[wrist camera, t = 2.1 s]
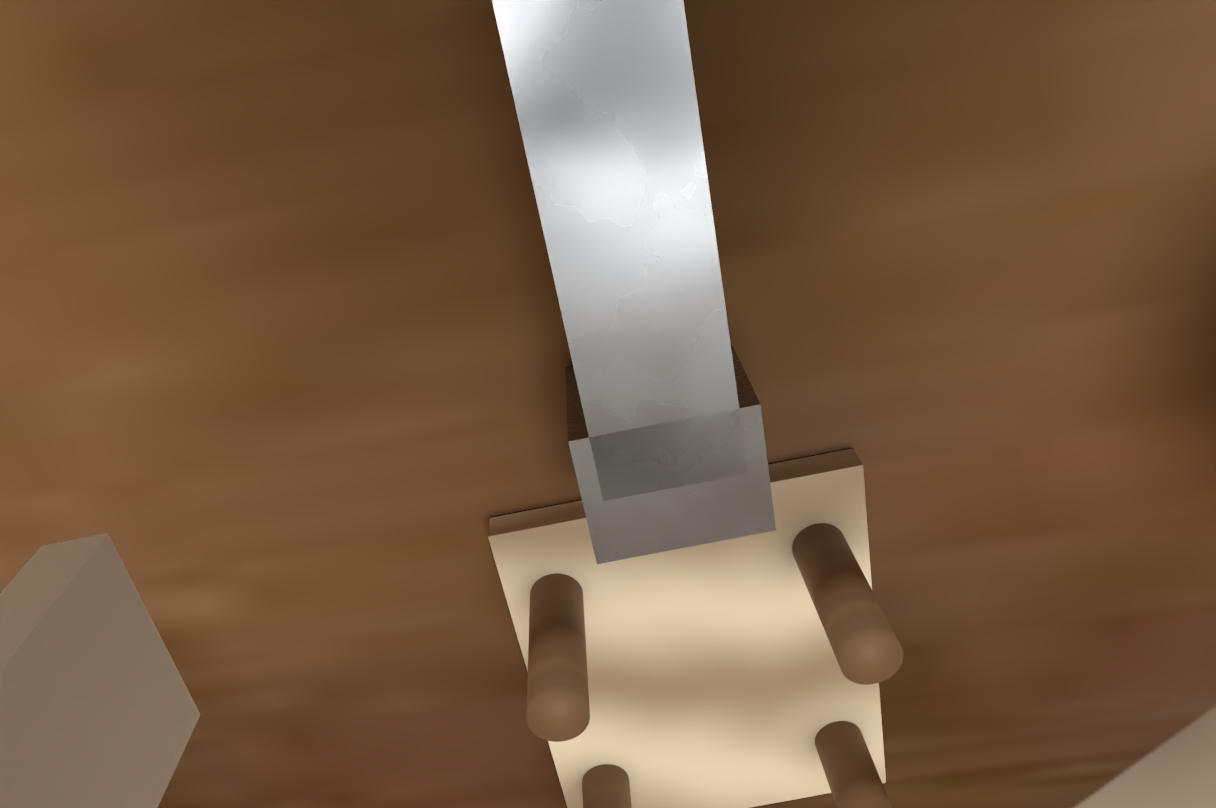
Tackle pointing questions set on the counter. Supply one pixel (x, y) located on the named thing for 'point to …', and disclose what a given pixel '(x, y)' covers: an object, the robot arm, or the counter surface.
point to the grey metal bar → (636, 275)
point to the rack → (708, 653)
